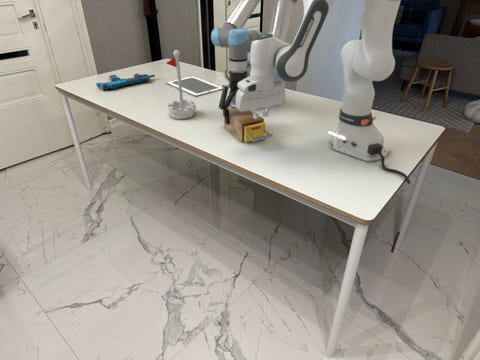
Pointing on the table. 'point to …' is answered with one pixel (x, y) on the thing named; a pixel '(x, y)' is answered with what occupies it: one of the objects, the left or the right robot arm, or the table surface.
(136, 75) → the submachine gun
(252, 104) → the right robot arm
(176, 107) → the flag stand
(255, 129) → the drawer
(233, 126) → the wooden drawer cabinet
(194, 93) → the tablet
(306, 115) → the table surface
